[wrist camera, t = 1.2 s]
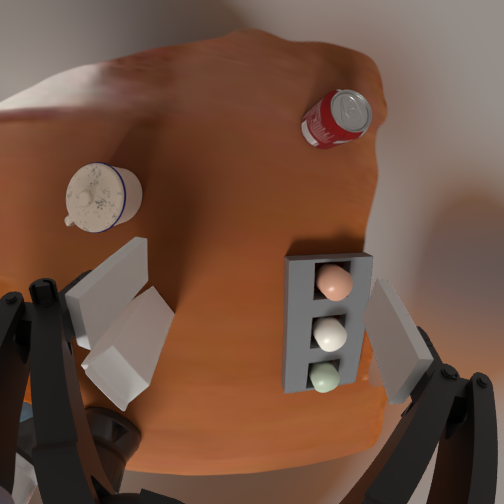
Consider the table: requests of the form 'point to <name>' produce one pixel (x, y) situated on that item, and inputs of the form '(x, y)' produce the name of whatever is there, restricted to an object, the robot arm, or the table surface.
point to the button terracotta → (333, 281)
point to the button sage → (323, 376)
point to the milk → (130, 348)
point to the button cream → (329, 333)
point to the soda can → (336, 119)
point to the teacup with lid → (102, 197)
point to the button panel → (317, 305)
